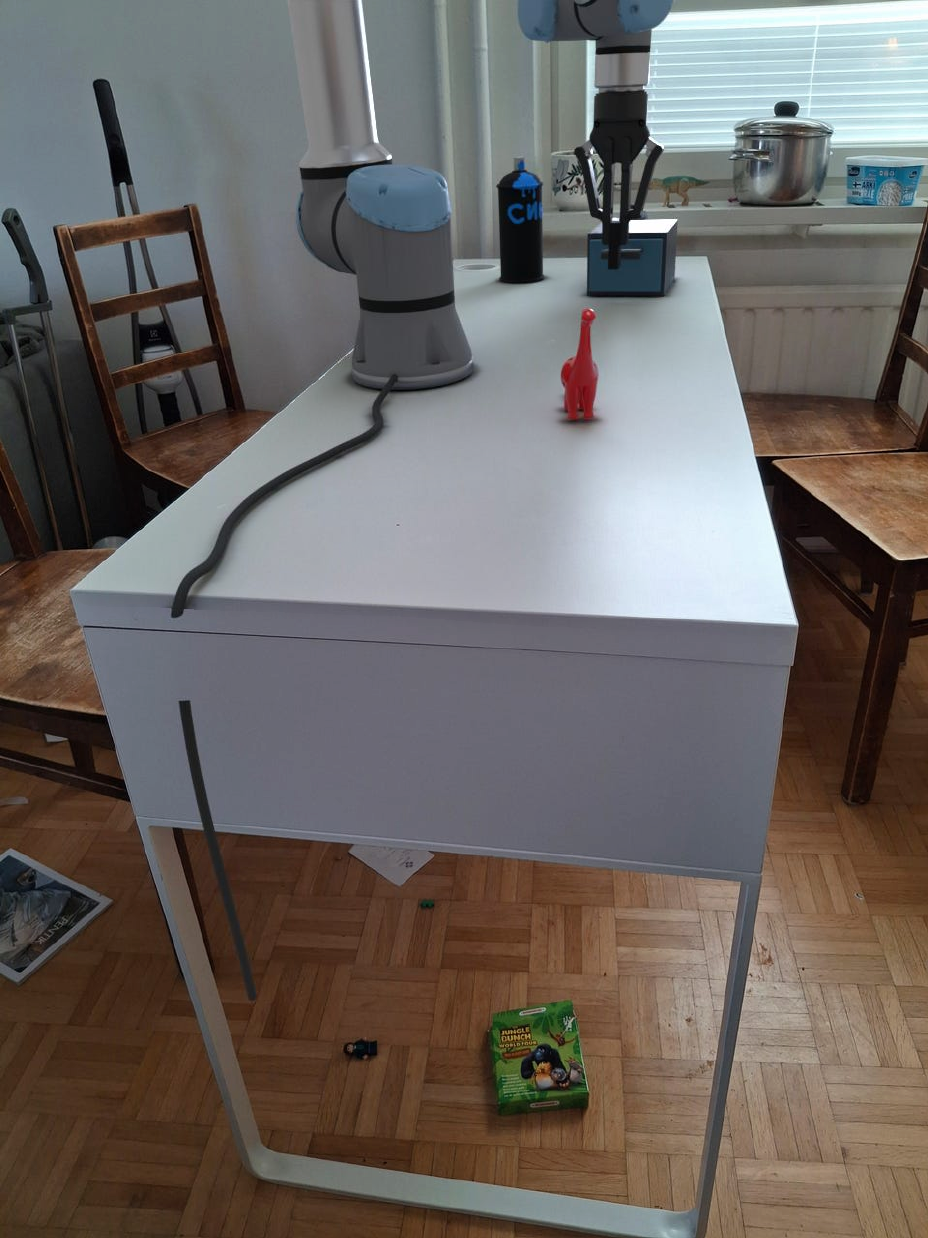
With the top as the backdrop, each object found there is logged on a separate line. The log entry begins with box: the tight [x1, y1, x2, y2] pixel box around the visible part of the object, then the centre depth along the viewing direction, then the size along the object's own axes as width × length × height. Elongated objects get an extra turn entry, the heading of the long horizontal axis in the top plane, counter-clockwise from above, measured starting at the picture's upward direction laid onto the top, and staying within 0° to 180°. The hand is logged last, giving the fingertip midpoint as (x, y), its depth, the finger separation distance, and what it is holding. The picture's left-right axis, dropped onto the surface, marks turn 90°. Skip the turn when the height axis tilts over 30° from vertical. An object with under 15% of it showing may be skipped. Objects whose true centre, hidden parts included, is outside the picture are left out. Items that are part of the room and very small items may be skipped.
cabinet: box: [586, 218, 679, 297], centre depth 156 cm, size 15×13×10 cm
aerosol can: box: [495, 156, 545, 284], centre depth 165 cm, size 8×8×20 cm
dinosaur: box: [560, 308, 599, 421], centre depth 96 cm, size 4×15×12 cm, turn 1°
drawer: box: [589, 238, 663, 292], centre depth 152 cm, size 18×11×8 cm, turn 163°
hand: (614, 267), depth 142 cm, fingers closed
